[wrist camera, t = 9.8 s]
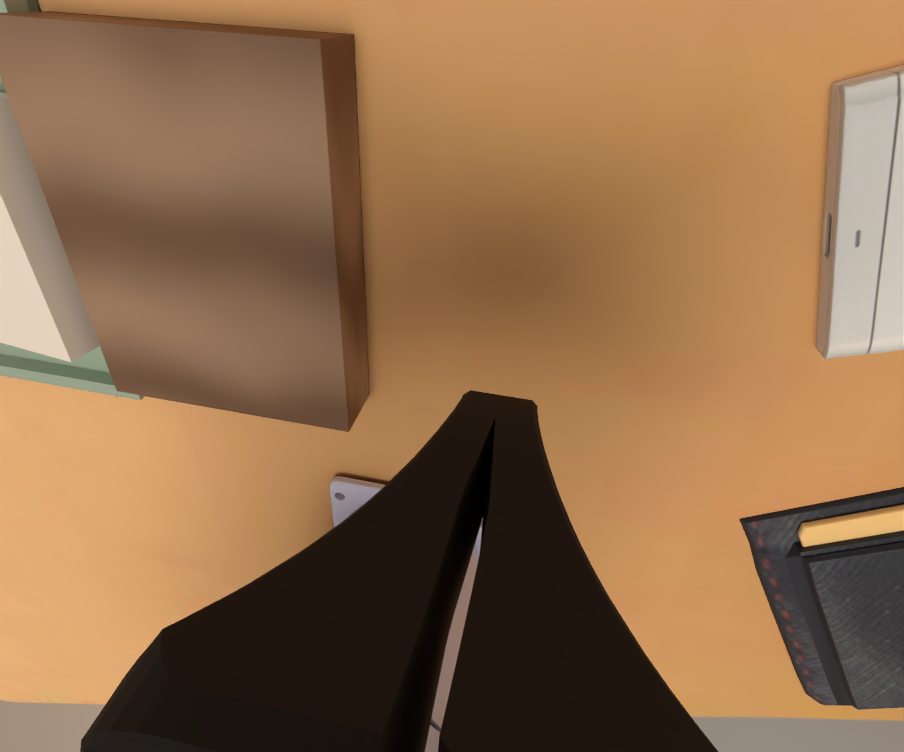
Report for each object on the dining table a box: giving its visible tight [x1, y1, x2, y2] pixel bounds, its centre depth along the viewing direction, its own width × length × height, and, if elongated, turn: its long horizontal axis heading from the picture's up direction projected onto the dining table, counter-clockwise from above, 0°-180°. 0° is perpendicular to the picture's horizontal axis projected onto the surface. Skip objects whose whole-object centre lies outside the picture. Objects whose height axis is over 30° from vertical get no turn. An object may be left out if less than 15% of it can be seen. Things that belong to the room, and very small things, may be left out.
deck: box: [0, 12, 369, 432], centre depth 19 cm, size 13×10×2 cm
